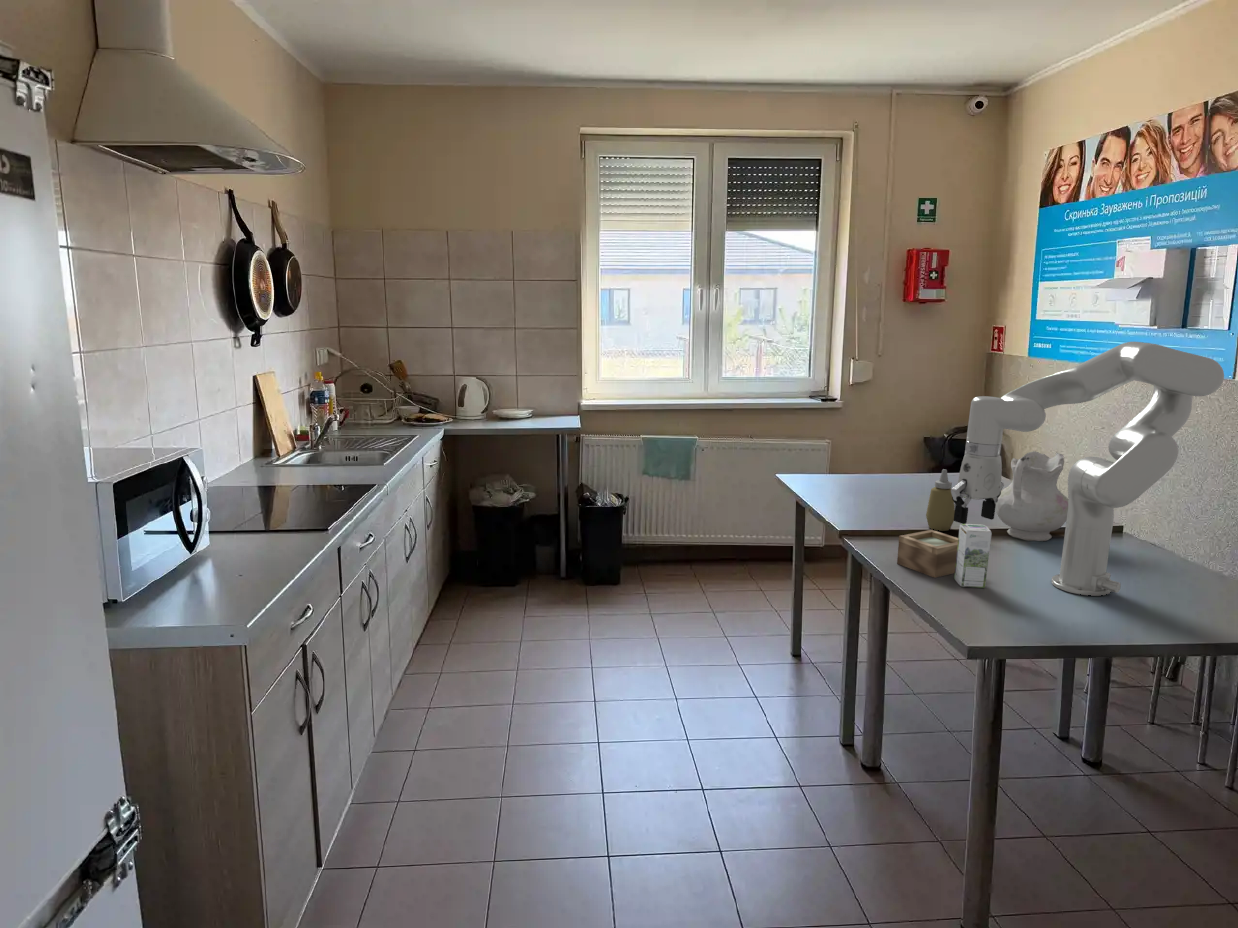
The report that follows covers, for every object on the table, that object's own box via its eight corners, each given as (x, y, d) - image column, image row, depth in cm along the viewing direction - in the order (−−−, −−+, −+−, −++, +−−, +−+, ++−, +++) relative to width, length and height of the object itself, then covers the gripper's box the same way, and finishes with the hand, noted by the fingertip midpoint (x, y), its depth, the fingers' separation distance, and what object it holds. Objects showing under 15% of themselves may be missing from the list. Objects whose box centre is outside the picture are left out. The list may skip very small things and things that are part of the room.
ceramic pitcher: (1054, 555, 224) (1073, 467, 218) (979, 536, 235) (996, 452, 229) (1068, 537, 241) (1086, 455, 235) (997, 520, 252) (1013, 442, 246)
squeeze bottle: (935, 533, 239) (941, 473, 236) (919, 525, 247) (924, 467, 243) (959, 531, 242) (965, 472, 238) (942, 524, 249) (947, 466, 245)
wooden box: (967, 570, 208) (970, 541, 206) (934, 577, 202) (937, 548, 201) (929, 556, 218) (931, 529, 217) (896, 563, 213) (899, 535, 211)
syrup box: (977, 580, 201) (983, 523, 198) (985, 588, 195) (992, 530, 192) (953, 579, 201) (959, 522, 198) (961, 587, 196) (966, 529, 193)
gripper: (971, 455, 184) (962, 528, 188) (1020, 450, 192) (1011, 520, 196) (944, 449, 190) (935, 520, 194) (993, 444, 199) (984, 512, 202)
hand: (973, 520), depth 195 cm, fingers open, 9 cm apart
